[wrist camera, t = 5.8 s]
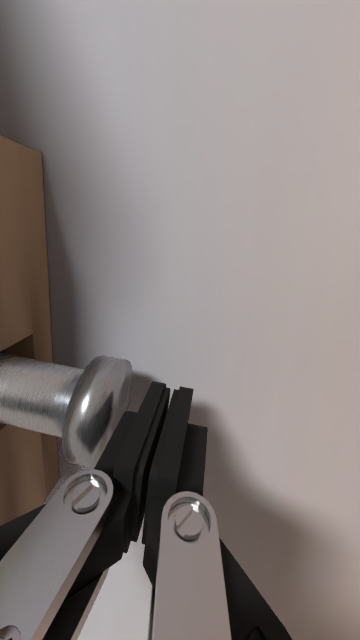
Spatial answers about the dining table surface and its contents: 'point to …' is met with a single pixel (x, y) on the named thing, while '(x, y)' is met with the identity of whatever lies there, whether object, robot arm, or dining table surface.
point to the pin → (66, 401)
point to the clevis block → (24, 323)
